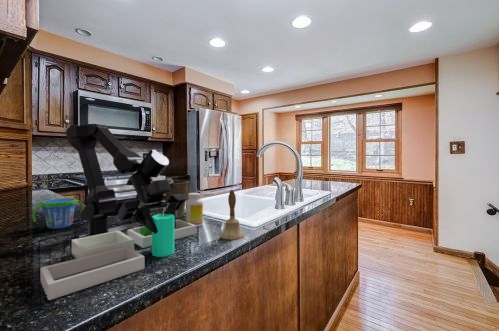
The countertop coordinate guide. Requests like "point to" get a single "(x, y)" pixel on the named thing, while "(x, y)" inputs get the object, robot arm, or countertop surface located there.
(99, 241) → the bin
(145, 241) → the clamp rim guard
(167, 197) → the plant pot
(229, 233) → the hand bell
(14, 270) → the countertop surface
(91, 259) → the grey rectangular frame
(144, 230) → the pipe clamp
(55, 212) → the snack cup
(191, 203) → the supplement bottle
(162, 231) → the candle
